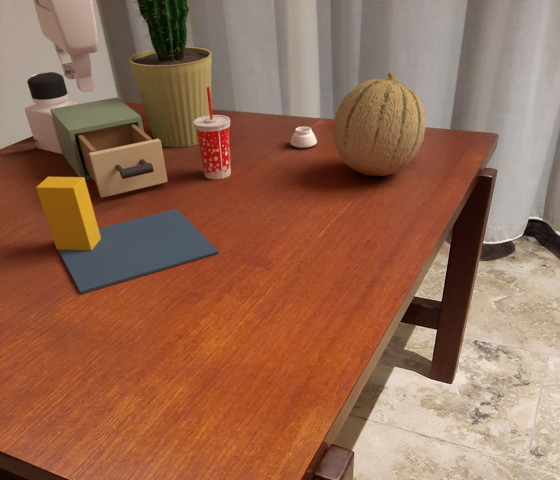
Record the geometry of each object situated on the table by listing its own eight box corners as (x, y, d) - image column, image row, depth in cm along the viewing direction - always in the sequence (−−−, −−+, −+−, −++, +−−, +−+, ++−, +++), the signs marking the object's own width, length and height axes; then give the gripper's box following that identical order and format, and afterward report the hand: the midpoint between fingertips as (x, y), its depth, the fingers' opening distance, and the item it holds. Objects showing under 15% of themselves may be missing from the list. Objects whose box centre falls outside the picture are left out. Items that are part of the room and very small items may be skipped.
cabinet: (150, 166, 101) (141, 116, 96) (82, 181, 97) (68, 130, 91) (126, 143, 111) (117, 97, 105) (63, 156, 107) (49, 109, 101)
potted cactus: (201, 120, 120) (180, -53, 101) (233, 140, 110) (216, -49, 91) (133, 134, 115) (97, -46, 95) (160, 156, 105) (126, -41, 85)
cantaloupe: (324, 186, 91) (326, 88, 82) (340, 155, 102) (344, 64, 92) (415, 193, 88) (428, 91, 78) (422, 160, 99) (435, 66, 89)
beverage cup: (227, 165, 100) (219, 80, 91) (240, 176, 96) (232, 88, 87) (195, 171, 98) (183, 85, 89) (207, 183, 94) (196, 94, 85)
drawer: (176, 190, 90) (170, 148, 86) (108, 207, 86) (97, 163, 82) (142, 157, 102) (134, 119, 98) (81, 171, 98) (70, 131, 94)
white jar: (298, 139, 109) (285, 147, 106) (298, 123, 107) (285, 131, 104) (321, 142, 107) (308, 151, 104) (321, 126, 105) (308, 134, 102)
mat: (80, 294, 69) (80, 291, 69) (53, 242, 80) (53, 240, 80) (219, 253, 76) (218, 250, 76) (177, 210, 86) (176, 208, 86)
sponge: (91, 250, 77) (73, 188, 71) (56, 249, 77) (35, 187, 72) (101, 238, 80) (84, 177, 74) (67, 237, 80) (47, 176, 74)
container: (92, 142, 112) (74, 71, 104) (62, 155, 107) (40, 81, 99) (66, 137, 115) (46, 67, 107) (36, 148, 111) (13, 77, 102)
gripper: (8, -46, 71) (43, 74, 80) (29, -43, 56) (69, 103, 65) (58, -50, 73) (87, 68, 82) (91, -48, 59) (121, 94, 67)
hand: (79, 84), depth 73 cm, fingers open, 8 cm apart
